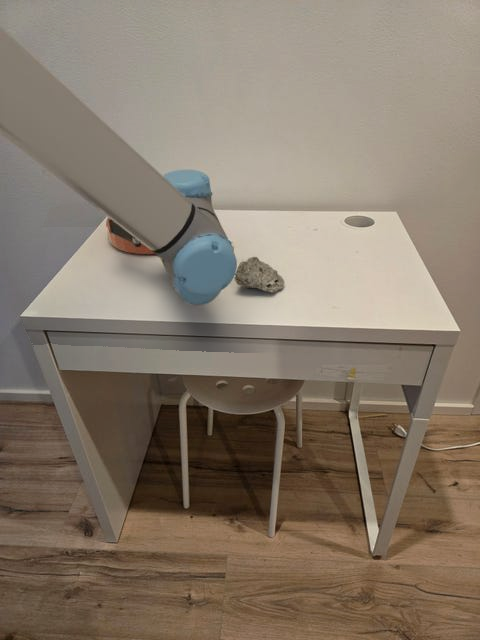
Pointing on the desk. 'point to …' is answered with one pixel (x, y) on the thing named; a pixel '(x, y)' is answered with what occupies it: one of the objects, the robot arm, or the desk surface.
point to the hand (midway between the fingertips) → (152, 204)
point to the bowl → (126, 243)
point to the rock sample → (258, 275)
